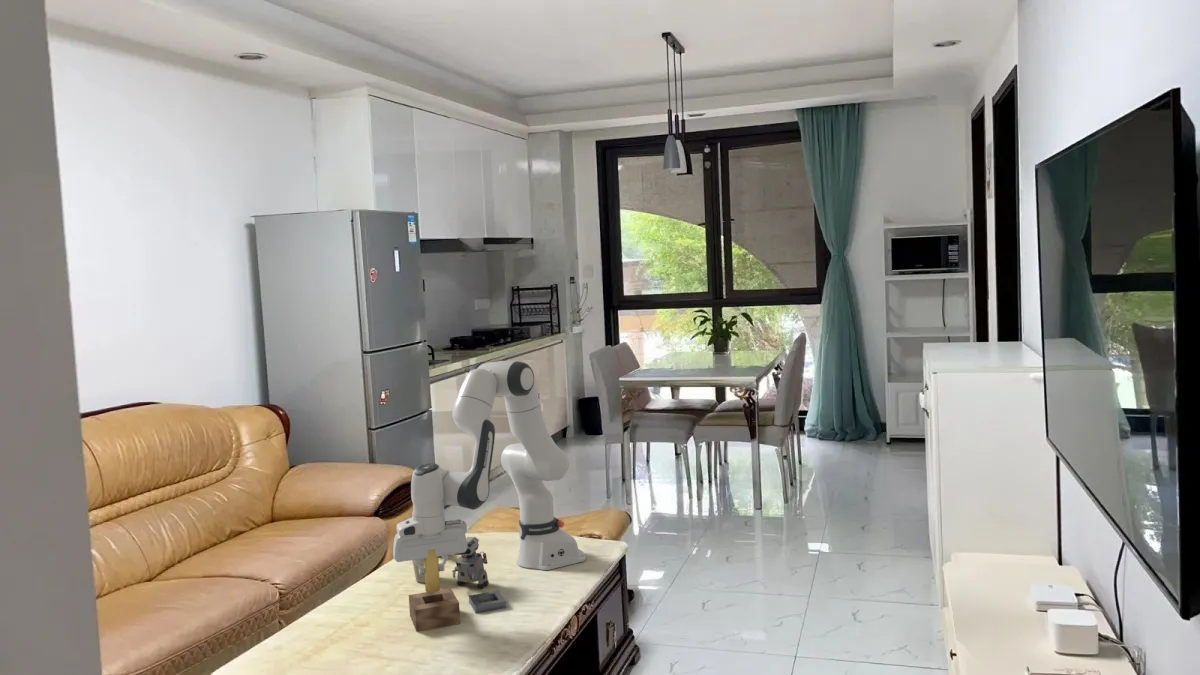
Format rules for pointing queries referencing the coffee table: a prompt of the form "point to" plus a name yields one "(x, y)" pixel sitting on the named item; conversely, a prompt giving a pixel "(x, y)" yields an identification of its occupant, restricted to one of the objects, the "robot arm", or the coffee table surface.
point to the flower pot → (418, 576)
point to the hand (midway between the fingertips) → (431, 572)
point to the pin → (431, 572)
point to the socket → (434, 609)
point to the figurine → (471, 565)
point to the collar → (487, 606)
